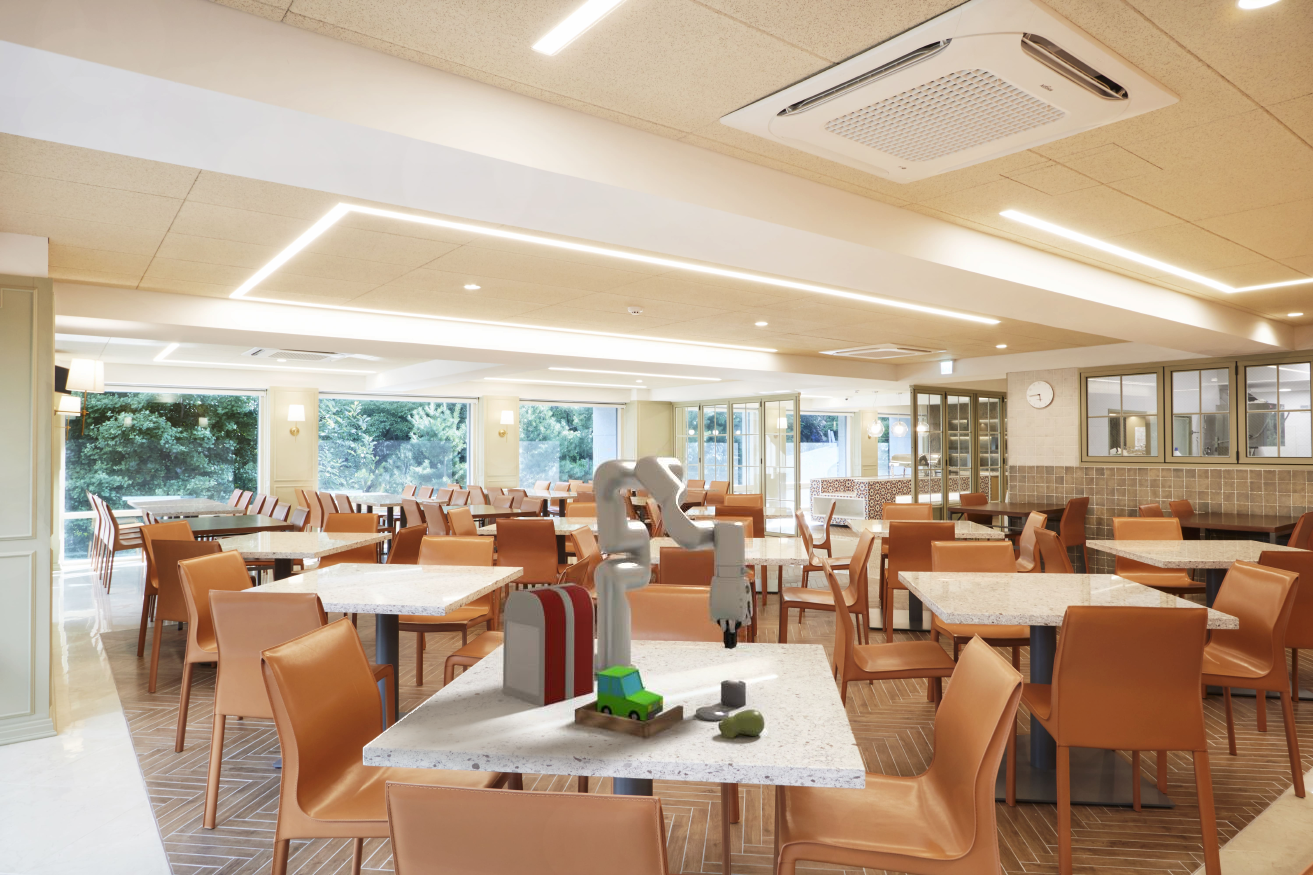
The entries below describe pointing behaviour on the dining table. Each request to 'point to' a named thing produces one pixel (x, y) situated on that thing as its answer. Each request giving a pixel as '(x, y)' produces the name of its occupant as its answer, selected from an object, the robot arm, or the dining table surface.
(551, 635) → the red striped mailbox
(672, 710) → the bay
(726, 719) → the pear
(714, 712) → the shallow metal dish
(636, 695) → the toy car
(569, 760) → the dining table surface
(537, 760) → the dining table surface
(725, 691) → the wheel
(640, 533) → the robot arm
